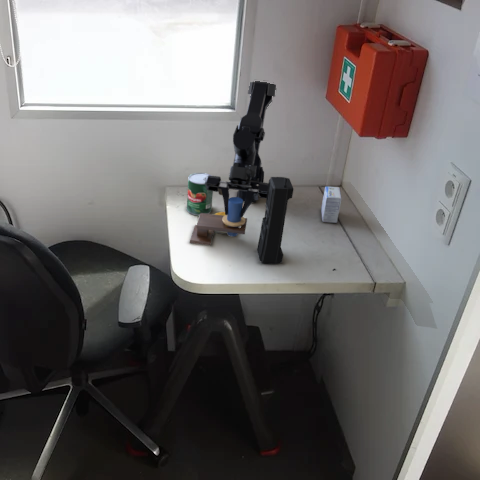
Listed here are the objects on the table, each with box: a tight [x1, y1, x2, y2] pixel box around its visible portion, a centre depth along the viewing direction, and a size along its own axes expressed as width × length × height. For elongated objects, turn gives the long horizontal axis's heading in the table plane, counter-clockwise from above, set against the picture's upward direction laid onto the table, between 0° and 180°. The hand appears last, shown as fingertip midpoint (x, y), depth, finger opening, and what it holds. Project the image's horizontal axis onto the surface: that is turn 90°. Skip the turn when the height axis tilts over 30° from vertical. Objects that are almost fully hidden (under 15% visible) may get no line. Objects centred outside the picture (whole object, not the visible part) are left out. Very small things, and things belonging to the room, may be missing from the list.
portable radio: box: [256, 176, 294, 265], centre depth 141 cm, size 8×6×25 cm
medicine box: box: [320, 185, 342, 224], centre depth 165 cm, size 8×4×9 cm, turn 168°
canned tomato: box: [186, 172, 214, 216], centre depth 168 cm, size 8×8×11 cm
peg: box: [222, 196, 246, 237], centre depth 151 cm, size 6×6×11 cm
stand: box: [189, 213, 248, 246], centre depth 154 cm, size 9×15×6 cm, turn 78°
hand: (233, 215), depth 149 cm, fingers closed on peg, 4 cm apart
